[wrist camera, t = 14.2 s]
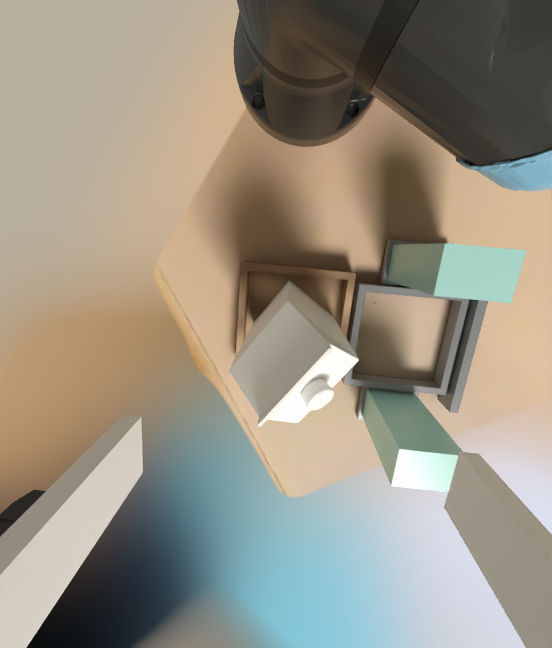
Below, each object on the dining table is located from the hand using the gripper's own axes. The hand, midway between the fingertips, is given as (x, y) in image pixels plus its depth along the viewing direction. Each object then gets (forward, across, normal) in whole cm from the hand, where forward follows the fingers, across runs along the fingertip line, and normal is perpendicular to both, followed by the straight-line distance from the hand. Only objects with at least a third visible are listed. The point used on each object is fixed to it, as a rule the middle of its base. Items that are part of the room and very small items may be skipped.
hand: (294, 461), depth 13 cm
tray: (+26, 0, 0) cm, 26 cm away
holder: (+26, +13, -1) cm, 30 cm away
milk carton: (+26, 0, 0) cm, 26 cm away
